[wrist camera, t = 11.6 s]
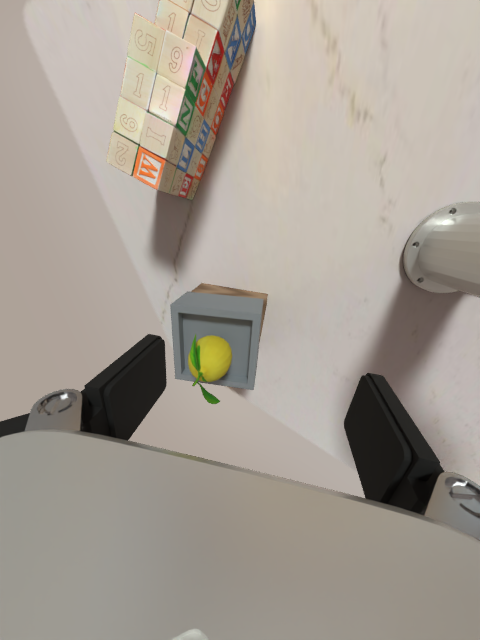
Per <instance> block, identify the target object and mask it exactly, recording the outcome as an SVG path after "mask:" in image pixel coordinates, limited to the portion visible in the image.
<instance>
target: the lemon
mask: <svg viewBox="0 0 480 640" xmlns="http://www.w3.org/2000/svg"><path fill="white" fill-rule="evenodd" d="M231 361H232V350H231V347H230V345H229V343H228V342H227V341H226V340H225V339H223V338H221V337H218V336H214V335H210V336H205V337H202V338H200V339H199V340H198V341H197V342H196V334H195V337H194V340H193V343H192V346H191V350H190V353H189V355H188V366H189V370H190V372H191V373H192V375H193V376H194V377H195V378H196V381H195V382H194V383H193V385H192V386H195V384H196V383H198V380H200V381H202V382H213V381H216V380H218V379H220V378H221V377H222V376H224V375H225V374H226V372H227V371H228V369H229V367H230V365H231ZM198 384H199V383H198ZM199 385H200V387H201V390H202V393H203V395H204V398H205V399H206V400H207V401H208V402H209V403H211V404H217V403H218V402H220V401H219V400H218V399H217V398H216V397H215V396H213V395H212V394H210V393H208V392H207V391H206V390H205V389H204V388H203V387H202V385H201V384H199Z"/></svg>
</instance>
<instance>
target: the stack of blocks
mask: <svg viewBox="0 0 480 640" xmlns="http://www.w3.org/2000/svg"><path fill="white" fill-rule="evenodd" d="M255 26H256V17H255V5H254V0H159V4H158V9H157V14H156V19H155V24H153V23H152V22H150V21H148V20H147V19H145V18H144V17H142V16H140V15H139V14H137V13H134V18H133V23H132V29H131V35H130V40H129V46H128V52H127V61H126V65H125V71H124V77H123V82H122V87H121V96H120V97H119V101H118V106H117V111H116V117H115V122H114V128H113V130H114V131H113V132H112V135H111V140H110V145H109V150H108V156H107V163H109V164H111V165H113V166H114V167H116V168H118V169H120V170H121V171H123V172H125V173H127V174H128V175H130V176H133V177H134V178H136V179H138V180H140V181H141V182H143V183H145V184H147V185H149V186H150V187H152V188H154V189H156V190H159V191H162V192H166V193H168V194H171V195H175V196H179V197H184V198H187V199H190V200H193V198H194V195H195V192H196V190H197V187H198V184H199V182H200V180H201V178H202V175H203V172H204V169H205V167H206V164H207V161H208V158H209V156H210V153H211V151H212V148H213V145H214V142H215V139H216V134H217V132H218V129H219V126H220V123H221V120H222V117H223V115H224V110H225V108H226V105H227V102H228V100H229V97H230V94H231V91H232V88H233V85H234V84H235V82H236V80H237V77H238V74H239V71H240V69H241V66H242V63H243V60H244V57H245V54H246V51H247V48H248V46H249V43H250V40H251V37H252V34H253V31H254V29H255Z"/></svg>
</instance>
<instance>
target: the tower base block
mask: <svg viewBox="0 0 480 640" xmlns="http://www.w3.org/2000/svg"><path fill="white" fill-rule="evenodd" d="M191 292H197V293H208V294H218V295H228V296H239V297H249V298H259V299H264V300H263V310H262V320H261V329H260V336H261V331H262V326H263V320H264V315H265V310H266V305H267V296H268V294H264V293H258V292H252V291H246V290H240V289H234V288H228V287H222V286H216V285H210V284H204V283H201V284H200V285H199V286H198V287H196V288H195V289H194V290H192V291H191ZM259 342H260V339H259Z"/></svg>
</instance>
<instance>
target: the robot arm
mask: <svg viewBox="0 0 480 640" xmlns="http://www.w3.org/2000/svg"><path fill="white" fill-rule="evenodd" d="M449 211H450V212H449ZM413 243H414V245H413ZM412 245H413V246H412ZM403 263H404V269H405V272H406V274H407V276H408V278H409V279H410V280H411V282H412V283H414V284H415V285H416V286H418V287H420V288H422V289H424V290H426V291H429V292H434V293H451V292H457V291H462V292H465V293H468V294H471V295H474V296H477V297H479V298H480V202H462V203H457V204H453V205H449V206H447V207H444V208H442V209H440V210H438V211H436V212H435V213H433V214H431V215H430V216H429V217H427V218H426V219H425V220H424V221H422V223H421V224H420V225H419V226H418V227H417V228H416V229H415V231H414V232H413V233H412V235H411V236H410V238H409V240H408V242H407V245H406V248H405V251H404V258H403ZM418 278H419V279H418ZM165 387H166V362H165V342H164V340H162V338H161V337H160V336H156V335H151V334H148V335H147V336H145V338H143V339H142V340H140V341H139V342H138V343H137V344H135V345H134V346H133V347H132V348H131V349H129V350H128V351H127V352H126V353H124V354H123V355H122V356H121V357H120V358H118V359H117V360H116V361H114V362H113V363H112V364H111V365H110V366H109V367H107V368H106V369H105V370H103V371H102V372H101V373H100V374H98V375H97V376H96V377H95V378H94V379H92V380H91V381H90V382H89V383H87V384H86V385H85V389H84V390H82V391H81V392H79V391H78V390H75V389H64V390H59V391H55V392H52V393H50V394H48V395H45V396H44V397H42V398H41V399H39V400H38V401H37V402H36V403H35V404H34V405H33V407H32V409H31V412H30V413H28V414H25V415H22V416H18V417H15V418H11V419H8V420H4V421H1V422H0V640H480V486H479V485H477V484H476V483H474V482H473V481H471V480H469V479H468V478H466V477H464V476H462V475H459V474H456V473H453V472H444V470H443V469H442V467H441V466H440V461H439V460H438V458H437V457H436V455H435V454H434V452H433V451H432V449H431V448H430V446H429V445H428V443H427V442H426V440H425V439H424V437H423V436H422V434H421V432H420V431H419V429H418V428H417V426H416V425H415V423H414V422H413V420H412V419H411V417H410V416H409V414H408V413H407V411H406V410H405V408H404V407H403V405H402V404H401V402H400V401H399V399H398V398H397V396H396V395H395V393H394V392H393V390H392V389H391V387H390V386H389V384H388V382H387V381H386V379H385V378H384V377H383V376H382V375H377V374H371V373H367V374H366V375H365V376H364V375H363V376H362V377H361V378H360V381H359V384H358V386H357V389H356V391H355V394H354V397H353V399H352V402H351V404H350V407H349V410H348V412H347V415H346V417H345V420H344V428H345V431H346V435H347V438H348V441H349V445H350V448H351V451H352V455H353V458H354V461H355V464H356V468H357V471H358V474H359V478H360V481H361V484H362V488H363V491H364V494H365V498H366V499H365V498H361V497H358V496H354V495H350V494H346V493H342V492H338V491H334V490H330V489H326V488H322V487H318V486H314V485H310V484H306V483H302V482H298V481H294V480H290V479H286V478H282V477H278V476H274V475H270V474H265V473H261V472H257V471H253V470H249V469H245V468H241V467H237V466H233V465H228V464H225V463H220V462H216V461H212V460H208V459H204V458H200V457H196V456H191V455H187V454H182V453H179V452H174V451H170V450H166V449H162V448H157V447H153V446H149V445H145V444H141V443H136V442H132V441H128V440H129V438H130V437H131V436H132V434H133V433H134V432H135V430H136V429H137V427H138V426H139V425H140V423H141V422H142V420H143V419H144V418H145V416H146V415H147V414H148V412H149V411H150V409H151V408H152V407H153V405H154V404H155V402H156V401H157V399H158V398H159V397H160V396H161V394H162V393H163V391H164V390H165Z"/></svg>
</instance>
